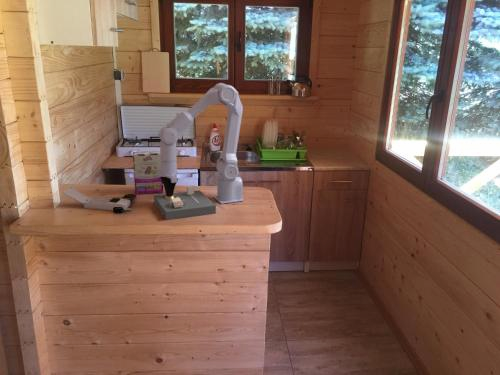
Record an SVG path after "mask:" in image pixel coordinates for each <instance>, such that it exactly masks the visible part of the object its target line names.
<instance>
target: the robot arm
mask: <svg viewBox="0 0 500 375" xmlns="http://www.w3.org/2000/svg"><path fill="white" fill-rule="evenodd" d="M220 104H223V106H224V107H225V108H226V110H227V111H228V112H227V118H226V119H227V120H226V126H225V131H224V137H223V146H222V152H221V153H220V155H219V159H218V160H217V162H216V164H215V165H216V166H215V168H216V171H217V173H218V175H217V191H216V192H217V194H216V195H214V196H213V199H215V200H216V201H217V202H218V203H219V204H221V205H222V204H229V203H231V204H232V203H237V202H243V201H244V199H243V194H244V193H243V191H244V190H243V188H244V185H243V179H242V177H240V176H238V175H239V168H238V161H239V160H238V158H237V150H238V143H239V137H240V130H241V123H242V118H243V117H242V116H243V112H244V111H243V110H244V108H243V107H244V106H243V104H242V101H241V99H240V96H239V91H237V89H236V87H233V85H230V84H226V83H223V82H219V83H217V84H215V85H213V87H211V88H209V90H208V91H207V92H206V93H205V94H204V95H202V97H201V98H200V99H199V100H197V102H196V103H194V104H193V105H192V107H191V108H189V109H188V110H187V111H180V112H177V113H176V114H175V115H176V116H175V117H174V118H173V119H172V120H171V121H170V122H167V123H166V124H165V125H166V126H163V127H161V128H160V129H159V131H158V138H159V139H160V143H159V144H160V150H159V151H160V156H161V172H158V175H162V176H163V177H160V178H161V180H162V182H163V189H164V191H165V193H164V194H166V196H173V193H175V188H176V185H177V183H178V182H179V178H178V160H177V159H178V157H177V156H178V155H177V152H178V151H177V142H178V140H179V137H180V136H181V135H182V134H184V133H185V132H186V131H187V130H188V129H189V128H190V127H191V126H193V125H194V119H195V118H196V117H197V116H199V115H200V114H201V113H202V112H203V111H205V110H206V109H207V108H208V107H210V106H212V105H220Z"/></svg>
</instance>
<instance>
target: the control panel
mask: <svg viewBox="0 0 500 375" xmlns="http://www.w3.org/2000/svg"><path fill="white" fill-rule="evenodd" d="M165 195H166V193H159V194H154V195H153V203H154V205H155V206H156V208H157V209H158V210H159V212H160V213H161V215H162V217H163V218H164V219H165V220H166V221H169V220H176V219H184V218H191V217H198V216H208V215H214V214H216V213H217V205H216V204H215V203H214V201H212V200H211V199H210V198H208V197H207V196H206V195H205V194H204V192H202V191H201V190H199V189H198V190H194V194H191V195H188V194H187V191H182V192H181V191H179V192H174V193H173V195H175V198H177V197H179V198H180V199H181V201H182V203H183V207H176V208H175V207H174V205H173V204H172V201H171V199H167V200H165Z"/></svg>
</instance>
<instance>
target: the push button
mask: <svg viewBox="0 0 500 375" xmlns="http://www.w3.org/2000/svg"><path fill="white" fill-rule="evenodd" d="M171 198H175V195H173V196H166V195H165V200H167V199H171Z"/></svg>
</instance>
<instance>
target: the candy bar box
mask: <svg viewBox="0 0 500 375" xmlns="http://www.w3.org/2000/svg"><path fill="white" fill-rule="evenodd" d="M132 163H133V164H132V165H133V179H134V180H133V182H134V194H135V195H149V194H150V195H151V194H164V185H163V182H162V180H161V178H160V177H163V176H162V175H158V172H161V156H160V150H156V151H155V150H154V151H149V150H148V151H133V152H132Z"/></svg>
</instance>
